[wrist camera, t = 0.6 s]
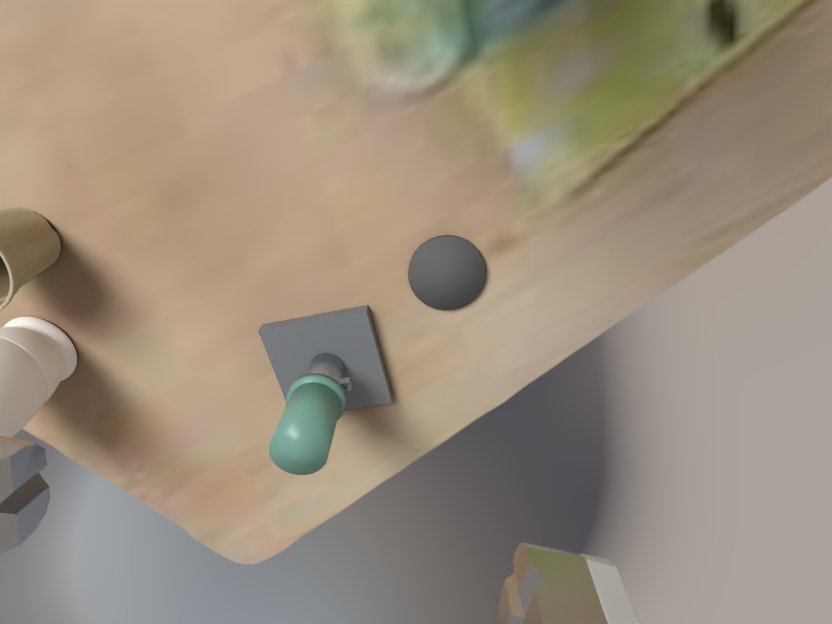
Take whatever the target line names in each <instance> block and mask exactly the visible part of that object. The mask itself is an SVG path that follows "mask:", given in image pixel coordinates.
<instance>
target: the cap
mask: <svg viewBox="0 0 832 624" xmlns="http://www.w3.org/2000/svg"><path fill="white" fill-rule="evenodd" d="M286 404H287V406H286V408H285V410H284V413H283V415H282V417H281V420H280V422H279V424H278V427H277V429H276V431H275V433H274V436H273V438H272V440H271V443H270V446H269V453H270V457H271V459H272V460H273V462H274V463H275V464H276V465H277V466H278V467H279V468H281V469H282V470H284V471H286V472H288V473H292V474H296V475H307V474H312V473H314V472H317V471H318V470H320V469H321V468H322V467H323V466H324V465H325V463H326V461H327V458H328V454H329V450H330V446H331V442H332V439H333V435H334V431H335V427H336V423H337V420H338V419H339V418H340V417H341V416H342V414H343V412H344V408H345V404H346V394H345V391H344V389H343V387H342V386H341V385H340V383H339V382H338V381H336V380H335V379H333V378H332V377H330V376H327V375H325V374H320V373H309V374H305V375H302V376H300V377H299V378H297V379H296V380H295V381H294V382H293V383H292V385H291V387H290V389H289V391H288V393H287V397H286Z"/></svg>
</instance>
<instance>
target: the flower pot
mask: <svg viewBox="0 0 832 624" xmlns="http://www.w3.org/2000/svg"><path fill="white" fill-rule="evenodd" d="M60 252H61V243H60V239H59V236H58V234H57V233H56V232H55V231H54V230H53V229H52V228H51V226H50V225H49V224H48V222H47V220H46V219H45V218H43V217H42V216H40V215H39V214H37V213H35V212H33V211H30V210H27V209H20V208H13V209H7V210H0V310H2V309H3V308H5V307H6V306H7V305H8V304H9V303H10V301H11V300H12V298H13V296H14V295H15V294H16V293H17V291H18V289H19V288H20V287H22V286H23V285H24V284H26V283H27V282H28V281H30V280H31V279H32V278H34V277H35V276H36V275H38V274H39V273H41V272H42V271H43V270H45V269H46V268H48V267H49V266H51V265H52V264H53V263H55V262H56V261H57V259H58V258H59V255H60Z"/></svg>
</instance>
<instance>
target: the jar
mask: <svg viewBox="0 0 832 624" xmlns="http://www.w3.org/2000/svg"><path fill="white" fill-rule="evenodd" d="M76 365H77V354H76V350H75V348H74V345H73V344H72V342H71V340H70V339H69V338H68V337H67V335H66V334H65V333H64V332H63V331H61V330H60V329H59V328H58V327H56V326H55V325H53V324H51V323H49V322H47V321H45V320H42V319H39V318H34V317H20V318H16V319H13V320H11V321H9V322H8V323H6V324H5V325H4V327H1V328H0V436H4V437H9V438H10V437H12V436H13V435H14V434H16V433H17V432H18V431H19V430H20V429H22V428H23V427H24V426H25V425H26V424H27V423H28V422H29V421H30V420H31V419H32V418H33V417H34V416H35V414H36V413H37V412H38V411H39V409H40V408H41V407H42V405H44V404H45V403H46V401H47V400H48V399H49V398H50V397H51V396H52V394H53V393H54V392H55V390H56V389H57V387H58V385H59V383H60V381H63V380H65V379H66V378H68V377H69V376H70V375H71V374H72V373H73V372H74V370H75V368H76Z"/></svg>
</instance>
